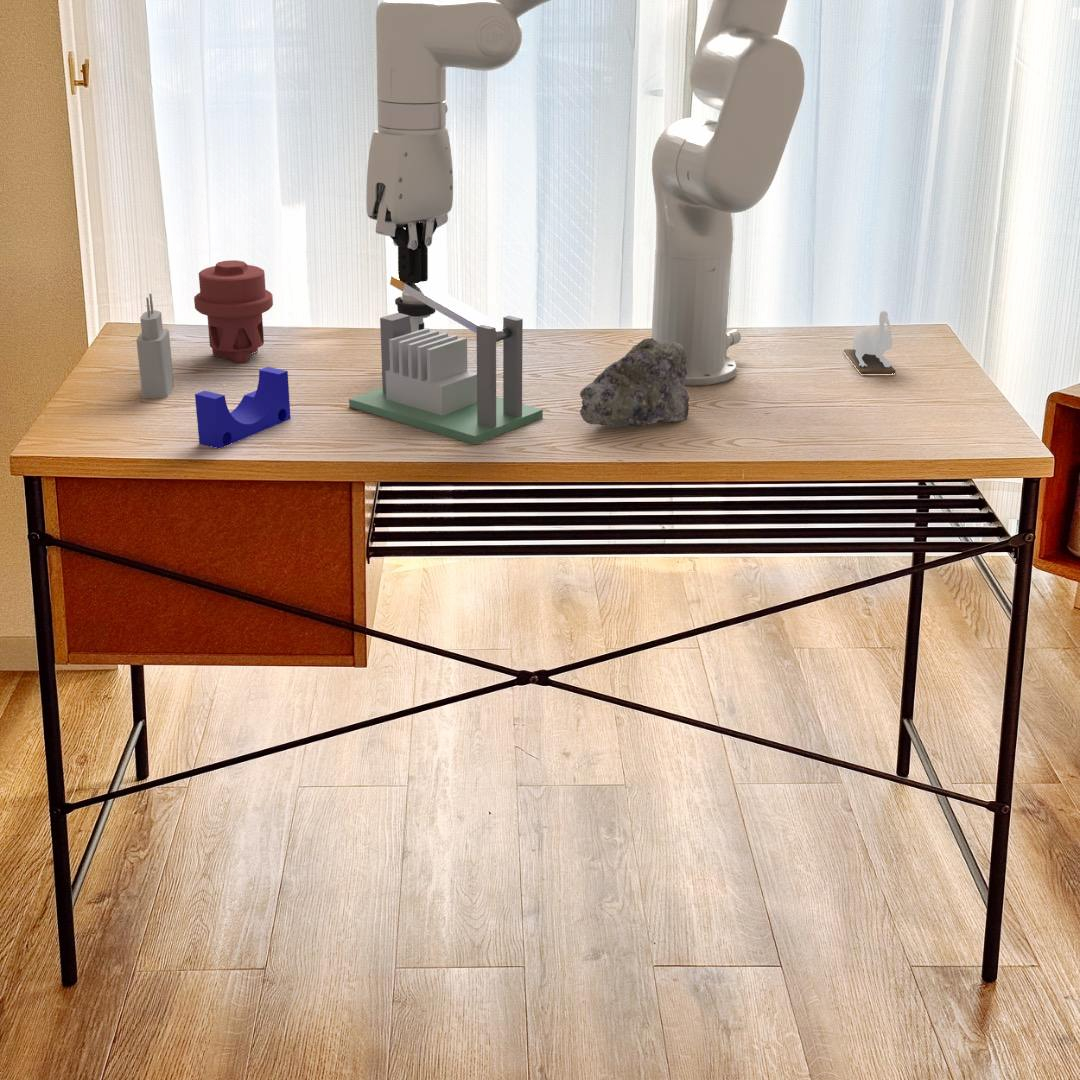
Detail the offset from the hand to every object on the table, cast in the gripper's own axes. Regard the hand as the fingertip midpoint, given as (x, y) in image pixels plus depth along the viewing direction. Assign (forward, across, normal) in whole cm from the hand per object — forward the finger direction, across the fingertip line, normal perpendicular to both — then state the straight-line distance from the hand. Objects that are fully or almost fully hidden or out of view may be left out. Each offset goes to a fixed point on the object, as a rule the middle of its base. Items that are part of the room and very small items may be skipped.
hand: (413, 280), depth 169 cm
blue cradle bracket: (+16, +19, -9) cm, 26 cm away
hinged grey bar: (+3, 0, +5) cm, 6 cm away
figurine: (+14, -50, +35) cm, 62 cm away
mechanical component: (+16, 0, -32) cm, 35 cm away
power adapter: (+16, +16, -28) cm, 36 cm away
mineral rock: (+15, -13, +23) cm, 31 cm away
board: (+15, -1, +4) cm, 16 cm away
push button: (+15, -11, -10) cm, 21 cm away
